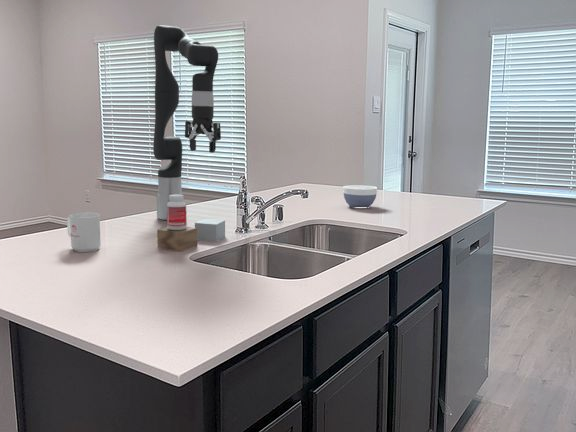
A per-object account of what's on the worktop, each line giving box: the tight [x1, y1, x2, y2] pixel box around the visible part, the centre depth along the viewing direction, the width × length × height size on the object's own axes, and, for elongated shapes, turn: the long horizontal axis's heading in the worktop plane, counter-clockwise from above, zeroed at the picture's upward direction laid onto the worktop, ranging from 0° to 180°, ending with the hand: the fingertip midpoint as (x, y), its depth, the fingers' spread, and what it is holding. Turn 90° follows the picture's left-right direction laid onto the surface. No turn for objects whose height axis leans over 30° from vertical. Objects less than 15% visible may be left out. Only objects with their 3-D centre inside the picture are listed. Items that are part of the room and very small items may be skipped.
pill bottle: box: [166, 194, 188, 230], centre depth 190 cm, size 6×6×11 cm
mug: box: [66, 212, 102, 253], centre depth 186 cm, size 12×9×11 cm
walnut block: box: [156, 226, 198, 252], centre depth 192 cm, size 9×9×6 cm
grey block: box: [194, 218, 226, 243], centre depth 205 cm, size 8×8×6 cm
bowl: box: [342, 184, 378, 208], centre depth 275 cm, size 16×16×10 cm
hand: (202, 151), depth 206 cm, fingers open, 8 cm apart
